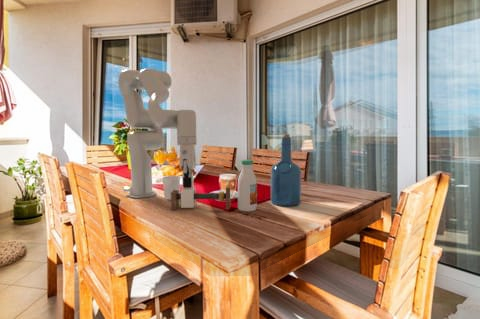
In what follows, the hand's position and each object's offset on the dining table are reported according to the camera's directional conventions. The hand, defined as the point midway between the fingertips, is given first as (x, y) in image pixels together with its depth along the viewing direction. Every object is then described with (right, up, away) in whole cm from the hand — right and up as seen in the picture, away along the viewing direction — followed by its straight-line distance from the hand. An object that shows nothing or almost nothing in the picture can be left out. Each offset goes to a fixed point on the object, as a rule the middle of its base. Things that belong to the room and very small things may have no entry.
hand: (188, 186), depth 109 cm
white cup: (-11, -8, +18) cm, 22 cm away
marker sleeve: (0, -9, +1) cm, 9 cm away
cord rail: (+5, -9, +1) cm, 10 cm away
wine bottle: (+41, -8, +8) cm, 43 cm away
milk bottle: (+24, -9, -1) cm, 26 cm away
